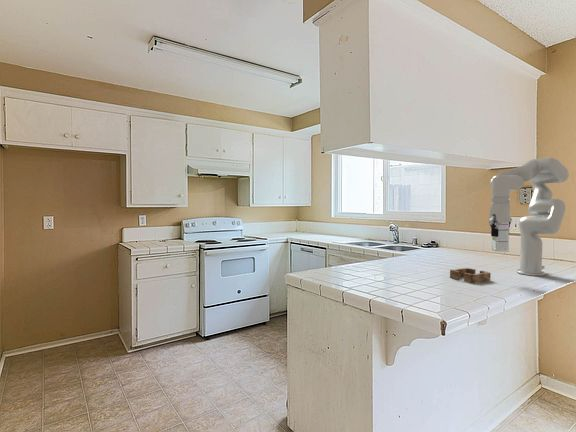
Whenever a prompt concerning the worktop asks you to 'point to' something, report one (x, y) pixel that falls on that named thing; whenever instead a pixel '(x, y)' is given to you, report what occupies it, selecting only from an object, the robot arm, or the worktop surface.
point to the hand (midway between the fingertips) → (500, 235)
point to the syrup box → (501, 238)
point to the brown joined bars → (470, 275)
